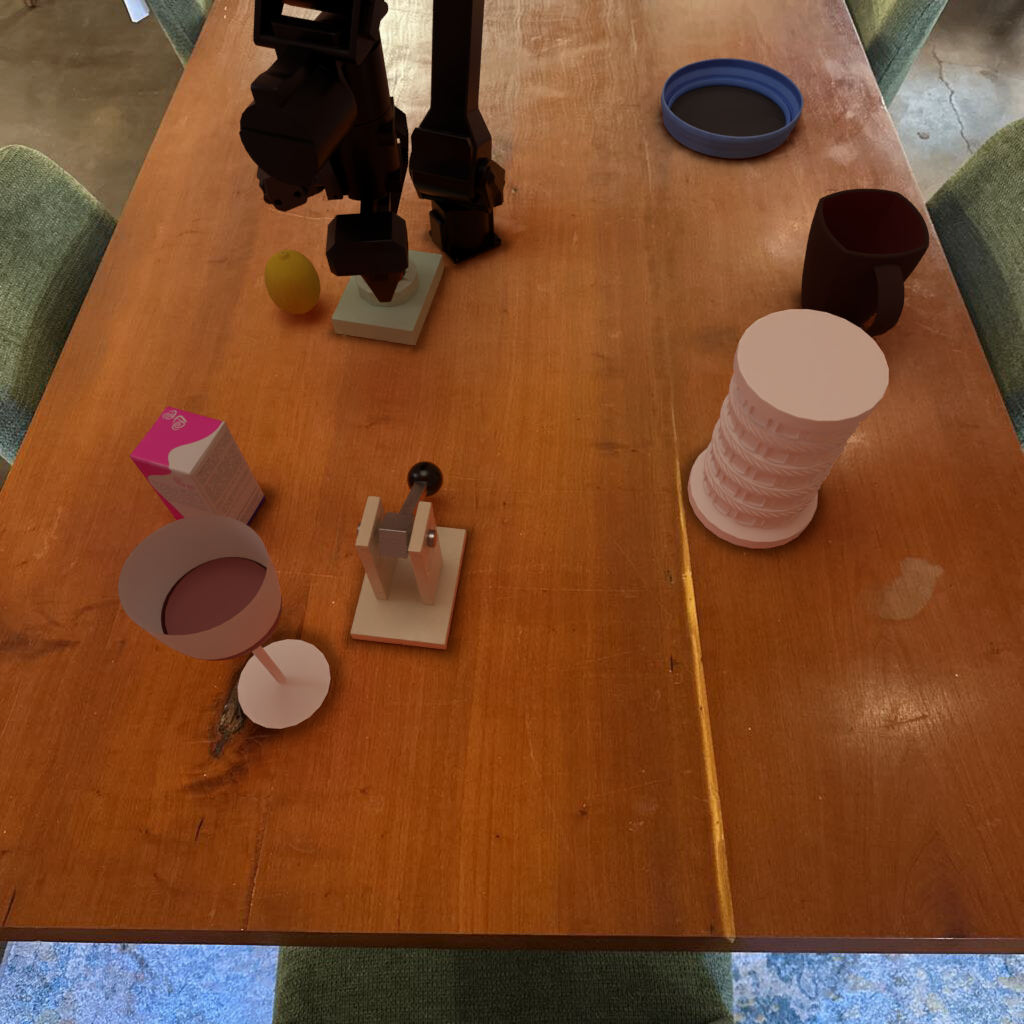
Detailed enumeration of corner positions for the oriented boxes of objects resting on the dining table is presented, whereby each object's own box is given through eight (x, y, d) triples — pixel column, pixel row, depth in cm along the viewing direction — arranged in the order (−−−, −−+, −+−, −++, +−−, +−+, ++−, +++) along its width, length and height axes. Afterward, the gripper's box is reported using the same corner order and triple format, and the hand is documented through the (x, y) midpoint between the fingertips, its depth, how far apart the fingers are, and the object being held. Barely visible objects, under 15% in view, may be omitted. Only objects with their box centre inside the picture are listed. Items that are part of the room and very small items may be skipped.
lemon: (318, 332, 82) (299, 274, 76) (269, 325, 83) (246, 267, 76) (334, 297, 85) (317, 238, 78) (287, 290, 86) (266, 231, 79)
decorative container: (661, 485, 72) (698, 352, 56) (747, 424, 75) (805, 283, 60) (752, 572, 67) (820, 453, 51) (840, 503, 70) (928, 372, 55)
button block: (369, 259, 88) (363, 230, 85) (444, 269, 87) (441, 241, 84) (335, 333, 82) (327, 305, 79) (415, 345, 81) (410, 318, 78)
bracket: (380, 526, 70) (358, 458, 61) (466, 535, 69) (458, 468, 60) (352, 638, 64) (323, 582, 55) (446, 650, 64) (432, 595, 54)
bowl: (815, 108, 103) (824, 81, 100) (762, 180, 95) (770, 154, 92) (693, 69, 108) (698, 43, 105) (634, 135, 100) (637, 108, 97)
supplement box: (268, 496, 72) (227, 420, 62) (236, 548, 69) (188, 478, 59) (214, 479, 73) (165, 402, 63) (180, 530, 70) (124, 458, 60)
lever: (411, 485, 70) (411, 453, 68) (446, 489, 70) (446, 457, 68) (372, 559, 59) (371, 523, 57) (413, 564, 58) (413, 527, 57)
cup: (859, 278, 86) (905, 184, 75) (904, 372, 78) (961, 282, 68) (772, 285, 85) (806, 191, 75) (809, 380, 78) (852, 290, 68)
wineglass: (235, 641, 64) (130, 520, 47) (339, 632, 64) (272, 509, 47) (225, 736, 60) (106, 641, 43) (335, 726, 60) (261, 628, 43)
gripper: (258, 42, 62) (306, 205, 76) (232, 189, 53) (292, 345, 66) (395, 35, 63) (418, 198, 76) (392, 179, 53) (419, 337, 67)
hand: (386, 265), depth 71 cm, fingers open, 9 cm apart
